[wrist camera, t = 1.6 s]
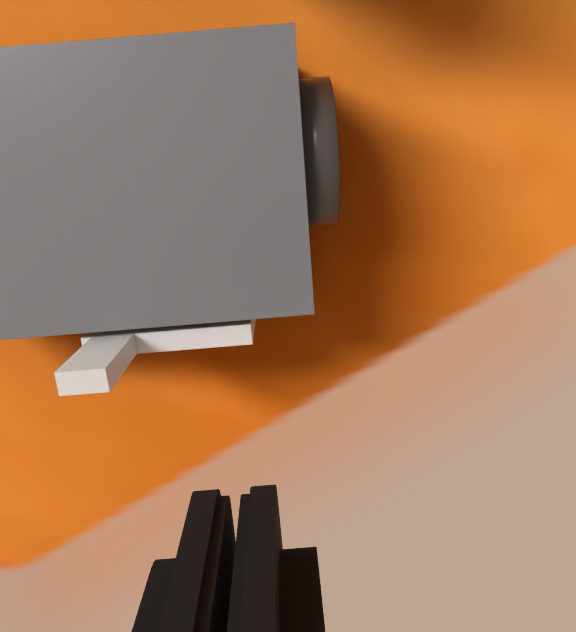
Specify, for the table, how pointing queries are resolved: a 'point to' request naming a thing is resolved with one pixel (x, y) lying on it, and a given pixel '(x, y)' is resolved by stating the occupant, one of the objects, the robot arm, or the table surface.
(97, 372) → the hatch
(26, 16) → the table surface
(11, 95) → the housing
